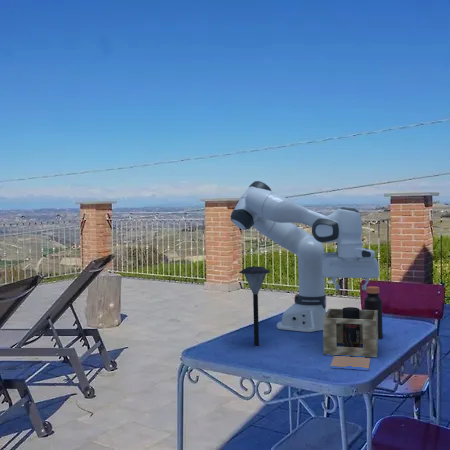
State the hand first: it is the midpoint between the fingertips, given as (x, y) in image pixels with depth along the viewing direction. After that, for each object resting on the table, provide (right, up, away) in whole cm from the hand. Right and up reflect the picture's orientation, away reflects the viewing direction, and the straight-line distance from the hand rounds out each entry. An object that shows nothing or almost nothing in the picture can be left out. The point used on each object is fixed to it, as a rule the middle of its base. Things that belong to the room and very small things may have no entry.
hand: (350, 290), depth 188 cm
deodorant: (+1, -22, +1) cm, 22 cm away
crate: (+1, -22, +1) cm, 22 cm away
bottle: (+13, -21, +18) cm, 31 cm away
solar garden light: (-34, -23, +9) cm, 41 cm away
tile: (-4, -23, -17) cm, 28 cm away
